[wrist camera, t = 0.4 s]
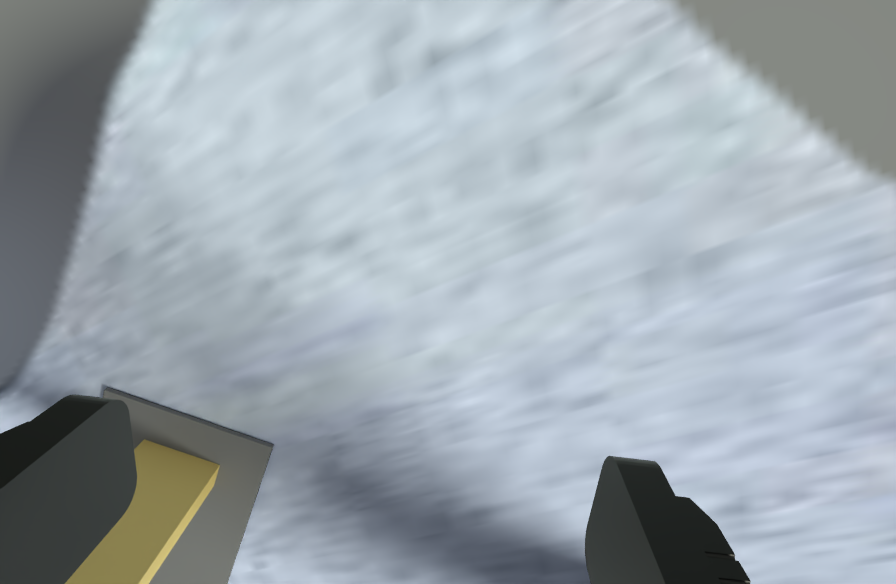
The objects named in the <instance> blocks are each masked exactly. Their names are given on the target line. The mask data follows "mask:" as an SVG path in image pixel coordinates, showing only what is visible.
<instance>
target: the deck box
mask: <svg viewBox="0 0 896 584" xmlns="http://www.w3.org/2000/svg"><path fill="white" fill-rule="evenodd" d="M134 454H135V462H136V470H137V484H136V489H135V493H134V496H133V499H132V501H131V503H130V505H129V507H128V509H127V511H126V512H125V514H124V515H123V516H122V518H121V519H120V520H119V521H118V522H117V523H116V525H115V526H114V527H113V528H112V529H111V530H110V532H109V533H108V534H107V535H106V536H105V537H104V539H103V540H102V541H101V542H100V543H99V544H98V546H97V547H96V548H95V549H94V550H93V551H92V553H91V554H90V555H89V556H88V557H87V558H86V560H85V561H84V562H83V563H82V564H81V565H80V567H79V568H78V569H77V570H76V571H75V572H74V574H73V575H72V576H71V577H70V578H69V579H68V580H67V582H66V583H65V584H149V583H150V581H151V580H152V578H153V577H154V575H155V573H156V572H157V570H158V569H159V567H160V566H161V564H162V563H163V561H164V560H165V558H166V557H167V555H168V554H169V552H170V551H171V549H172V548H173V546H174V545H175V543H176V542H177V540H178V539H179V537H180V536H181V534H182V533H183V531H184V530H185V528H186V527H187V525H188V524H189V522H190V521H191V519H192V518H193V516H194V515H195V513H196V512H197V510H198V509H199V507H200V506H201V504H202V503H203V501H204V500H205V498H206V497H207V495H208V494H209V492H210V491H211V489H212V488H213V486H214V484H215V480H216V477H217V473H218V470H219V467H220V465H219V464H216V463H213V462H210V461H207V460H204V459H201V458H198V457H195V456H192V455H189V454H186V453H183V452H180V451H177V450H174V449H171V448H168V447H165V446H162V445H159V444H156V443H154V442H151V441H148V440H145V439H144V440H143V441H142V442H141V443H140V444H139V445H138V446H137V447H136V448H135V449H134Z"/></svg>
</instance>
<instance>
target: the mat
mask: <svg viewBox="0 0 896 584" xmlns="http://www.w3.org/2000/svg"><path fill="white" fill-rule="evenodd" d="M103 398H108V399H116V400H121V401H123V402H124V403H125V404H126V405H127V407H128V409H129V414H130V422H131V430H132V438H133V446H134V449H135V448H136V447H137V446H138V445H139V444H140V443H141V442H142V441H143V440H144V439H145V440H148V441H151V442H154V443H156V444H159V445H162V446H165V447H168V448H171V449H174V450H177V451H180V452H183V453H186V454H189V455H192V456H195V457H198V458H201V459H204V460H207V461H210V462H213V463H216V464H219V465H220V467H219V470H218V473H217V477H216V480H215V484H214V486H213V488H212V489H211V491H210V492H209V494H208V495H207V497H206V498H205V500H204V501H203V503H202V504H201V506H200V507H199V509H198V510H197V512H196V513H195V515H194V516H193V518H192V519H191V521H190V522H189V524H188V525H187V527H186V528H185V530H184V531H183V533H182V534H181V536H180V537H179V539H178V540H177V542H176V543H175V545H174V546H173V548H172V549H171V551H170V552H169V554H168V555H167V557H166V558H165V560H164V561H163V563H162V564H161V566H160V567H159V569H158V570H157V572H156V573H155V575H154V577H153V578H152V580H151V581H150V583H149V584H227V583H228V580H229V577H230V574H231V571H232V568H233V565H234V562H235V559H236V556H237V553H238V550H239V547H240V544H241V541H242V538H243V535H244V532H245V529H246V526H247V523H248V520H249V517H250V514H251V511H252V508H253V505H254V502H255V499H256V496H257V493H258V490H259V487H260V484H261V481H262V478H263V475H264V472H265V469H266V466H267V463H268V460H269V457H270V454H271V451H272V448H273V444H270V443H267V442H264V441H261V440H258V439H256V438H253V437H250V436H247V435H244V434H241V433H238V432H235V431H232V430H230V429H227V428H224V427H221V426H218V425H215V424H212V423H209V422H206V421H204V420H201V419H198V418H195V417H192V416H189V415H186V414H183V413H180V412H177V411H175V410H172V409H169V408H166V407H163V406H160V405H157V404H154V403H151V402H149V401H146V400H143V399H140V398H137V397H134V396H131V395H128V394H125V393H123V392H120V391H117V390H114V389H111V388H108V387H107V388H106V389H105V390H104V394H103Z"/></svg>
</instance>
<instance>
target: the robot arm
mask: <svg viewBox="0 0 896 584" xmlns="http://www.w3.org/2000/svg"><path fill="white" fill-rule="evenodd" d="M136 484H137V470H136V462H135V454H134V446H133V438H132V430H131V422H130V414H129V409H128V407H127V405H126V404H125V403H124V402H123V401H121V400H116V399H108V398H99V397H91V396H82V395H69V396H67V397H65V398H63V399H61V400H60V401H58V402H57V403H56V404H54V405H53V406H51V407H50V408H48V409H47V410H46V411H44V412H43V413H41V414H40V415H39V416H37V417H36V418H34V419H33V420H32V421H30V422H26V423H24V424H21V425H19V426H17V427H15V428H12V429H10V430H8V431H5V432H3V433H1V434H0V584H65V583H66V582H67V580H68V579H69V578H70V577H71V576H72V575H73V574H74V572H75V571H76V570H77V569H78V568H79V567H80V565H81V564H82V563H83V562H84V561H85V560H86V558H87V557H88V556H89V555H90V554H91V553H92V551H93V550H94V549H95V548H96V547H97V546H98V544H99V543H100V542H101V541H102V540H103V539H104V537H105V536H106V535H107V534H108V533H109V532H110V530H111V529H112V528H113V527H114V526H115V525H116V523H117V522H118V521H119V520H120V519H121V518H122V516H123V515H124V514H125V512H126V511H127V509H128V507H129V505H130V503H131V501H132V499H133V496H134V493H135V489H136ZM585 556H586V565H587V570H588V574H589V578H590V582H591V584H750V580H749V578H748V576H747V575H746V573H745V571H744V569H743V568H742V566H741V564H740V563H739V561H735V554H734V552H733V551H732V549H731V547H730V546H729V544H728V542H727V541H726V539H725V537H724V535H723V534H722V532H721V530H720V529H719V527H718V525H717V524H716V523H715V522H714V521H713V520H712V519H711V518H710V517H709V516H708V515H707V514H706V513H705V512H704V511H702V510H701V509H700V508H699V507H698V506H697V505H696V504H695V503H694V502H693V501H692V500H691V499H690V498H686V497H678V496H675V494H674V492H673V490H672V488H671V487H670V485H669V483H668V481H667V479H666V477H665V475H664V473H663V471H662V469H661V468H660V466H659V465H658V464H657V463H656V462H655V461H648V460H639V459H631V458H622V457H614V456H608V457H607V458H606V459H605V461H604V463H603V466H602V470H601V474H600V478H599V481H598V485H597V489H596V493H595V497H594V501H593V505H592V509H591V513H590V517H589V521H588V524H587V529H586V537H585Z"/></svg>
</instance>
